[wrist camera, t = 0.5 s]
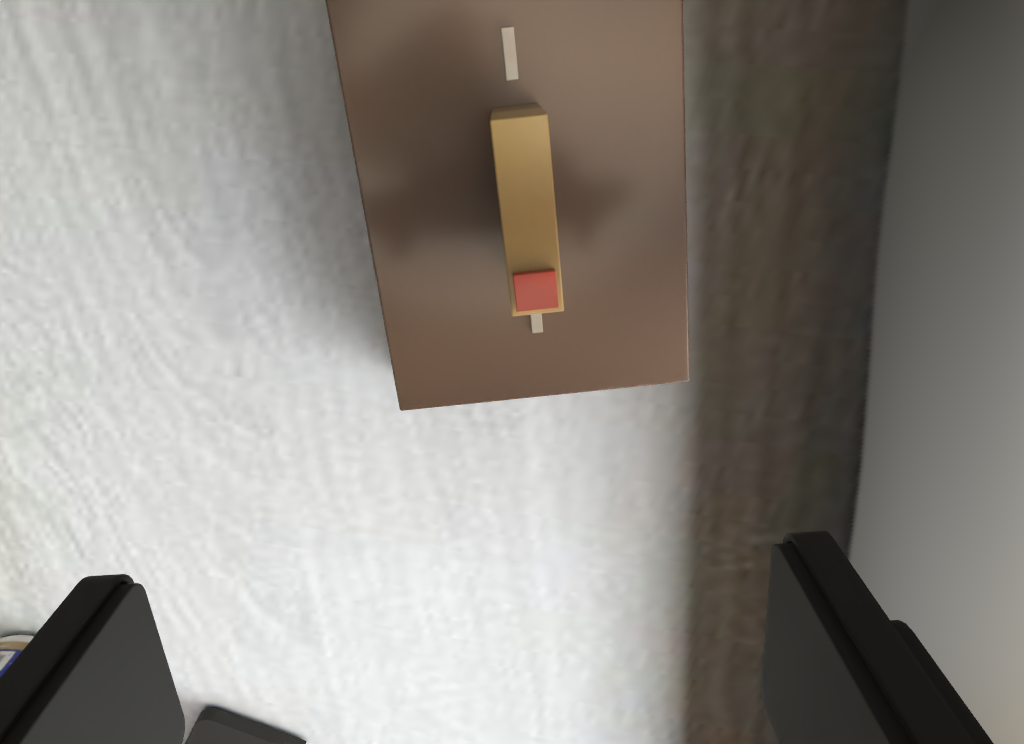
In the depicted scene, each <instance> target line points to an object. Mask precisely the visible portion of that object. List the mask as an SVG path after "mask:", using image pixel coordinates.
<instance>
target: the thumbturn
mask: <svg viewBox="0 0 1024 744" xmlns="http://www.w3.org/2000/svg"><path fill="white" fill-rule="evenodd" d="M490 129H491V138H492V147H493V156H494V164H495V173H496V182H497V191H498V200H499V209H500V218H501V227H502V235H503V244H504V253H505V262H506V271H507V280H508V289H509V298H510V306H511V315H512V316H522V315H531V314H541V313H550V312H560V311H564V303H563V291H562V279H561V267H560V255H559V243H558V231H557V219H556V208H555V196H554V184H553V172H552V160H551V148H550V136H549V124H548V115H547V113H546V112H545V111H544V110H543V108H542V107H541V106H540V105H539V104H538V103H533V104H524V105H515V106H506V107H498V108H492V111H491V117H490Z"/></svg>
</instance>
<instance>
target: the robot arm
mask: <svg viewBox="0 0 1024 744" xmlns="http://www.w3.org/2000/svg"><path fill="white" fill-rule="evenodd" d="M761 688H762V696H763V702H764V706H765V709H766V712H767V714H768V717H769V719H770V722H771V724H772V727H773V729H774V732H775V734H776V737H777V739H778V742H779V744H993V742H992V741H991V739H990V738H989V737H988V735H987V734H986V733H985V731H984V730H983V728H982V727H981V726H980V724H979V723H978V721H977V720H976V718H975V717H974V716H973V714H972V713H971V712H970V710H969V709H968V707H967V706H966V705H965V704H964V702H963V700H962V699H961V698H960V696H959V695H958V693H957V692H956V691H955V690H954V688H953V686H952V685H951V684H950V683H949V681H948V680H947V678H946V677H945V675H944V674H943V673H942V671H941V670H940V669H939V667H938V666H937V664H936V663H935V662H934V660H933V659H932V657H931V656H930V654H929V653H928V652H927V650H926V649H925V648H924V646H923V645H922V643H921V642H920V641H919V639H918V638H917V636H916V635H915V634H914V632H913V631H912V630H911V629H910V628H909V627H908V626H907V624H906V623H903V622H902V621H899V620H892V621H890V620H889V618H888V617H887V615H886V614H885V612H884V611H883V610H882V608H881V607H880V605H879V604H878V602H877V601H876V599H875V598H874V597H873V595H872V594H871V592H870V591H869V589H868V588H867V587H866V585H865V584H864V582H863V581H862V579H861V578H860V576H859V575H858V573H857V572H856V571H855V569H854V568H853V566H852V565H851V563H850V562H849V560H848V559H847V558H846V556H845V555H844V553H843V552H842V550H841V549H840V547H839V546H838V545H837V543H836V542H835V540H834V539H833V537H832V536H831V535H830V534H829V533H828V532H826V531H816V532H800V533H788V534H786V535H785V537H784V539H783V544H774V545H773V547H772V551H771V561H770V575H769V588H768V601H767V615H766V628H765V642H764V655H763V668H762V682H761ZM184 732H185V719H184V714H183V711H182V708H181V705H180V701H179V698H178V695H177V692H176V688H175V685H174V682H173V679H172V675H171V672H170V669H169V666H168V663H167V659H166V656H165V653H164V650H163V646H162V643H161V640H160V637H159V633H158V630H157V627H156V624H155V620H154V617H153V614H152V611H151V607H150V604H149V601H148V598H147V595H146V591H145V589H144V587H143V586H142V585H141V584H138V583H134V582H133V579H132V578H131V577H130V576H129V575H125V574H119V575H103V576H88V577H85V578H83V579H82V580H81V581H80V582H79V583H78V584H77V585H76V586H75V588H74V589H73V590H72V591H71V592H70V594H69V595H68V596H67V597H66V598H65V600H64V601H63V602H62V603H61V605H60V606H59V607H58V608H57V609H56V611H55V612H54V613H53V614H52V615H51V617H50V618H49V619H48V620H47V622H46V623H45V624H44V625H43V626H42V628H41V629H40V630H39V631H38V632H37V634H36V635H35V636H34V637H33V639H32V640H31V641H30V642H29V643H28V645H27V646H26V647H25V648H24V650H23V651H22V652H21V653H20V654H19V656H18V657H17V658H16V659H15V660H14V662H13V663H12V664H11V665H10V667H9V668H8V669H7V670H6V671H5V673H4V674H3V675H2V676H1V677H0V744H182V741H183V737H184Z"/></svg>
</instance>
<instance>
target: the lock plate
mask: <svg viewBox="0 0 1024 744" xmlns="http://www.w3.org/2000/svg"><path fill="white" fill-rule="evenodd" d="M325 1H326V6H327V12H328V17H329V23H330V28H331V34H332V39H333V45H334V50H335V56H336V61H337V67H338V72H339V78H340V83H341V89H342V94H343V100H344V105H345V111H346V116H347V122H348V127H349V133H350V138H351V144H352V149H353V155H354V160H355V166H356V171H357V177H358V182H359V188H360V193H361V199H362V204H363V210H364V215H365V221H366V226H367V231H368V237H369V242H370V248H371V253H372V259H373V264H374V270H375V275H376V281H377V286H378V292H379V297H380V303H381V308H382V314H383V319H384V325H385V330H386V336H387V341H388V347H389V352H390V358H391V363H392V369H393V374H394V380H395V385H396V391H397V396H398V402H399V407H400V410H402V411H403V410H412V409H422V408H432V407H441V406H451V405H461V404H471V403H480V402H490V401H500V400H509V399H519V398H529V397H538V396H548V395H558V394H568V393H577V392H587V391H597V390H606V389H616V388H626V387H635V386H645V385H655V384H665V383H674V382H684V381H689V329H688V272H687V214H686V157H685V100H684V42H683V0H325ZM533 103H538V104H539V105H540V106H541V107H542V108H543V110H544V111H545V112H546V113H547V115H548V124H549V136H550V148H551V160H552V172H553V184H554V196H555V208H556V219H557V231H558V243H559V255H560V267H561V279H562V291H563V303H564V311H560V312H550V313H541V314H531V315H522V316H512V315H511V306H510V298H509V289H508V280H507V271H506V262H505V253H504V244H503V235H502V227H501V218H500V209H499V200H498V191H497V182H496V173H495V164H494V156H493V147H492V138H491V129H490V117H491V111H492V108H498V107H506V106H515V105H524V104H533Z"/></svg>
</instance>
